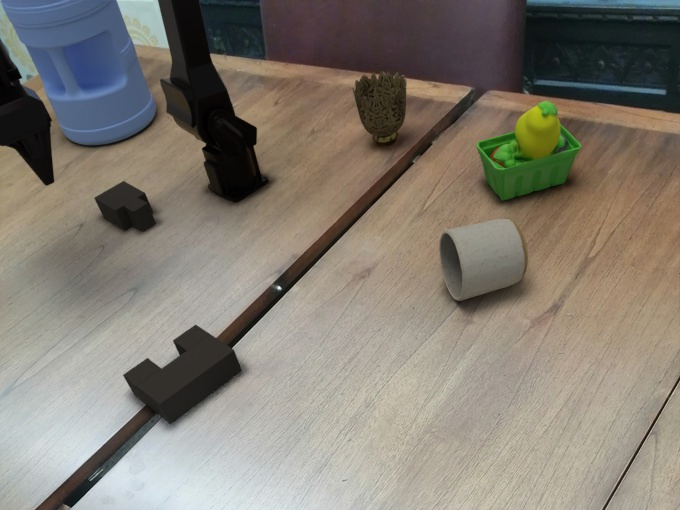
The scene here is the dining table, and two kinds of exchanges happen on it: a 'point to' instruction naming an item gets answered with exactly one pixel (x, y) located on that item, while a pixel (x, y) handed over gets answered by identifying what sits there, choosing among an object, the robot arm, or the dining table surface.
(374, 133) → the cup
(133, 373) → the base pad
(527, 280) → the dining table surface
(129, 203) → the black pad
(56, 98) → the water jug
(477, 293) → the ceramic mug
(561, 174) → the fruit basket
